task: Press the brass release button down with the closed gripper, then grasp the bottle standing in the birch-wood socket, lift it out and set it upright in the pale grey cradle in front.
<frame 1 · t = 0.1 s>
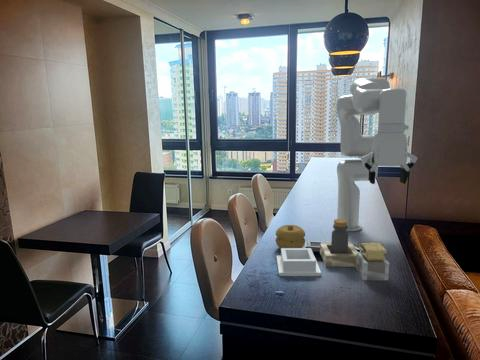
hand: (387, 183, 113), 31 cm above the bar counter, tool pointing down, fingers open, 9 cm apart
bottle: (339, 259, 130), resting in socket block
cradle: (297, 266, 125), on the bar counter
release button: (372, 255, 116), point 7 cm above the bar counter, slide at 0.0 cm
pot: (290, 249, 141), on the bar counter
socket block: (339, 259, 130), on the bar counter
pliers: (361, 249, 139), on the bar counter
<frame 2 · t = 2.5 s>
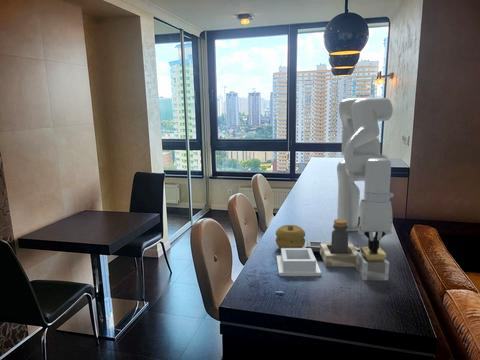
hand: (373, 250, 116), 9 cm above the bar counter, tool pointing down, fingers closed
release button: (372, 259, 117), point 6 cm above the bar counter, slide at 1.4 cm, touching gripper
everything else where it was.
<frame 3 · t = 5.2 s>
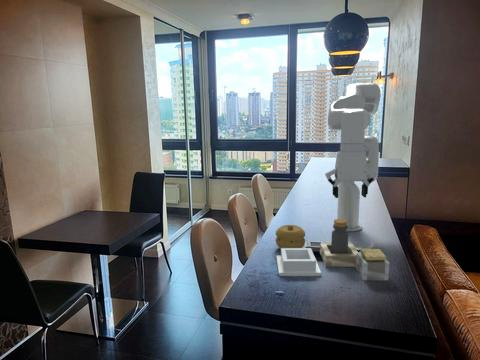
hand: (349, 196, 122), 25 cm above the bar counter, tool pointing down, fingers open, 9 cm apart
release button: (372, 261, 117), point 5 cm above the bar counter, slide at 2.2 cm
everything else where it was.
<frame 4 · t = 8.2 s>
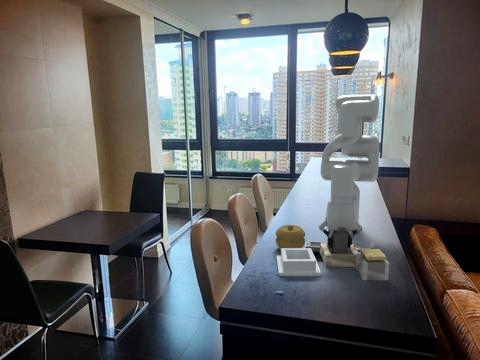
hand: (339, 246, 129), 5 cm above the bar counter, tool pointing down, fingers closed on bottle, 5 cm apart
bottle: (339, 259, 130), resting in socket block, touching gripper
everything else where it was.
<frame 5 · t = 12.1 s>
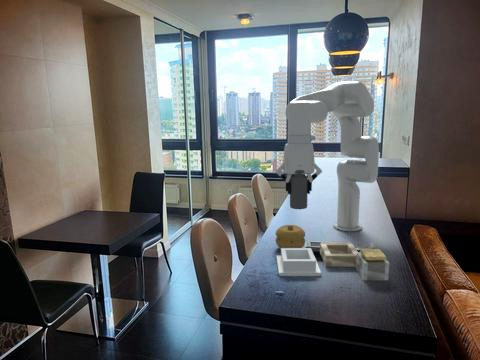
hand: (298, 192, 119), 27 cm above the bar counter, tool pointing down, fingers closed on bottle, 5 cm apart
bottle: (298, 207, 120), point 22 cm above the bar counter, touching gripper
everything else where it was.
when the fingers open (7 cm above the bar counter, at t = 16.2 s): bottle stays where it is, resting on cradle.
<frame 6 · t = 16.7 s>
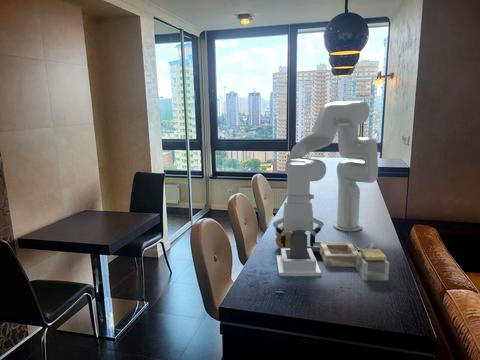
hand: (297, 245, 123), 8 cm above the bar counter, tool pointing down, fingers open, 9 cm apart
bottle: (298, 263, 125), point 1 cm above the bar counter, touching cradle
everything else where it was.
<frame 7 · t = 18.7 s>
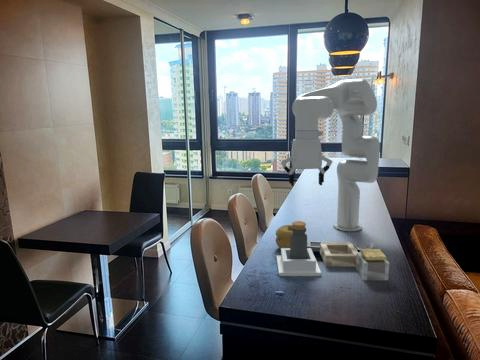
hand: (306, 184, 122), 29 cm above the bar counter, tool pointing down, fingers open, 9 cm apart
nothing on the bar counter moved.
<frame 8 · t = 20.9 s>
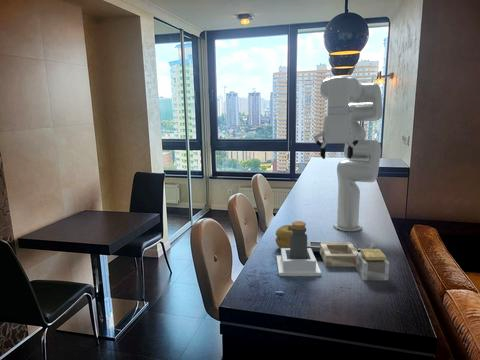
hand: (336, 158, 132), 36 cm above the bar counter, tool pointing down, fingers open, 9 cm apart
nothing on the bar counter moved.
at the end: release button slide at 2.2 cm; bottle 0.3 cm off-centre on the cradle, point 1.0 cm above the cradle's base; bottle tilted 0° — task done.
